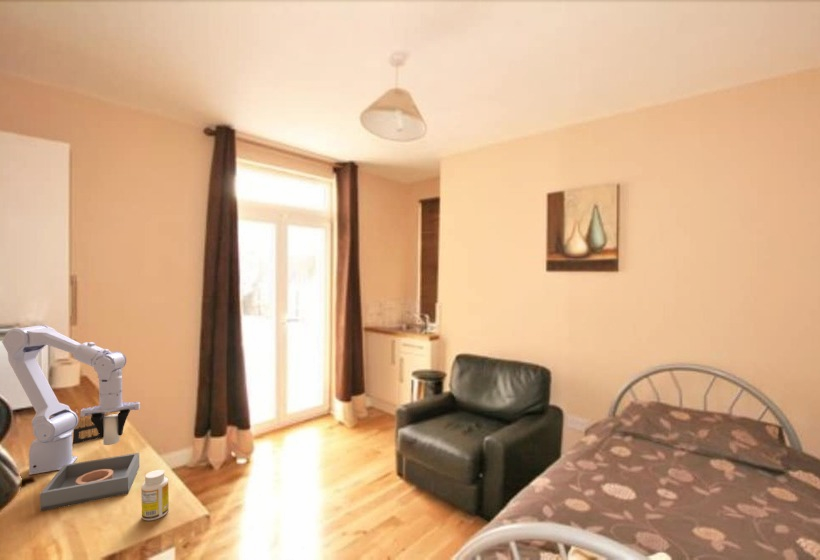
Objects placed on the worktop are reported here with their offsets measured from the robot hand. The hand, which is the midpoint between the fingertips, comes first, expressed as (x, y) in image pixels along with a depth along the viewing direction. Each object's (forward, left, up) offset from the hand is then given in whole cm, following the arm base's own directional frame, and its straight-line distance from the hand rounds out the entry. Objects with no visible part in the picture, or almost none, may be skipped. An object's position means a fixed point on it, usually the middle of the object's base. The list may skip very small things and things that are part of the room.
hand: (111, 435), depth 121 cm
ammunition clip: (-11, +26, -9) cm, 30 cm away
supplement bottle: (+16, -36, -9) cm, 40 cm away
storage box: (-1, -14, -9) cm, 16 cm away
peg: (0, 0, -2) cm, 2 cm away
